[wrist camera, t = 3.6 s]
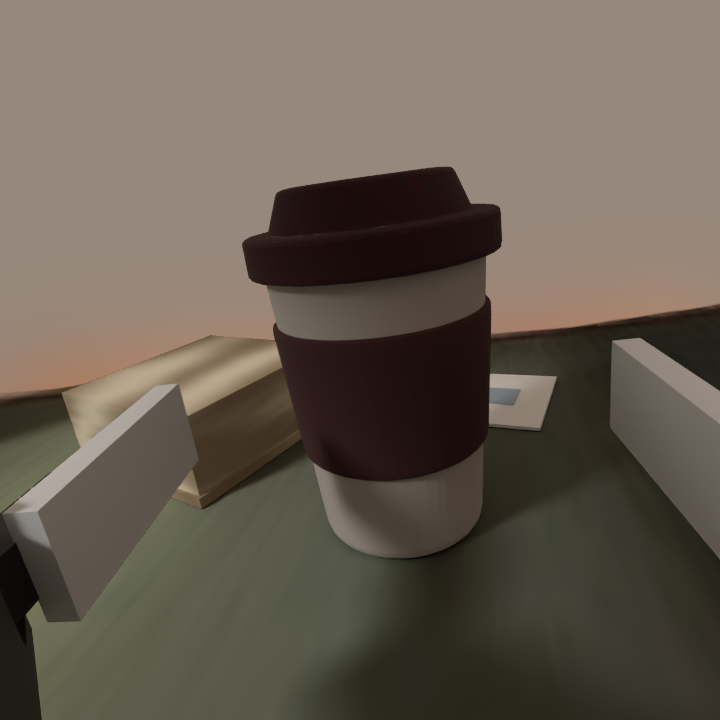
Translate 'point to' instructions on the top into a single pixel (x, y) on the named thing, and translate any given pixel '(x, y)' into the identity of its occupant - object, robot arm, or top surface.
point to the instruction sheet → (519, 400)
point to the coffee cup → (386, 349)
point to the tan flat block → (204, 408)
